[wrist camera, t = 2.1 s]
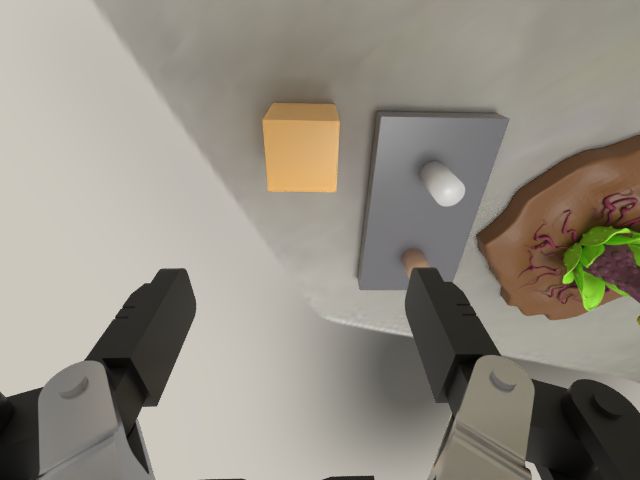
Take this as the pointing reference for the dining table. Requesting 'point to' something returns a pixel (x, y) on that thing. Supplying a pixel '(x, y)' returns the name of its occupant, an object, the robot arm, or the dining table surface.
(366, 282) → the board
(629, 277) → the plant
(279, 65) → the dining table surface
